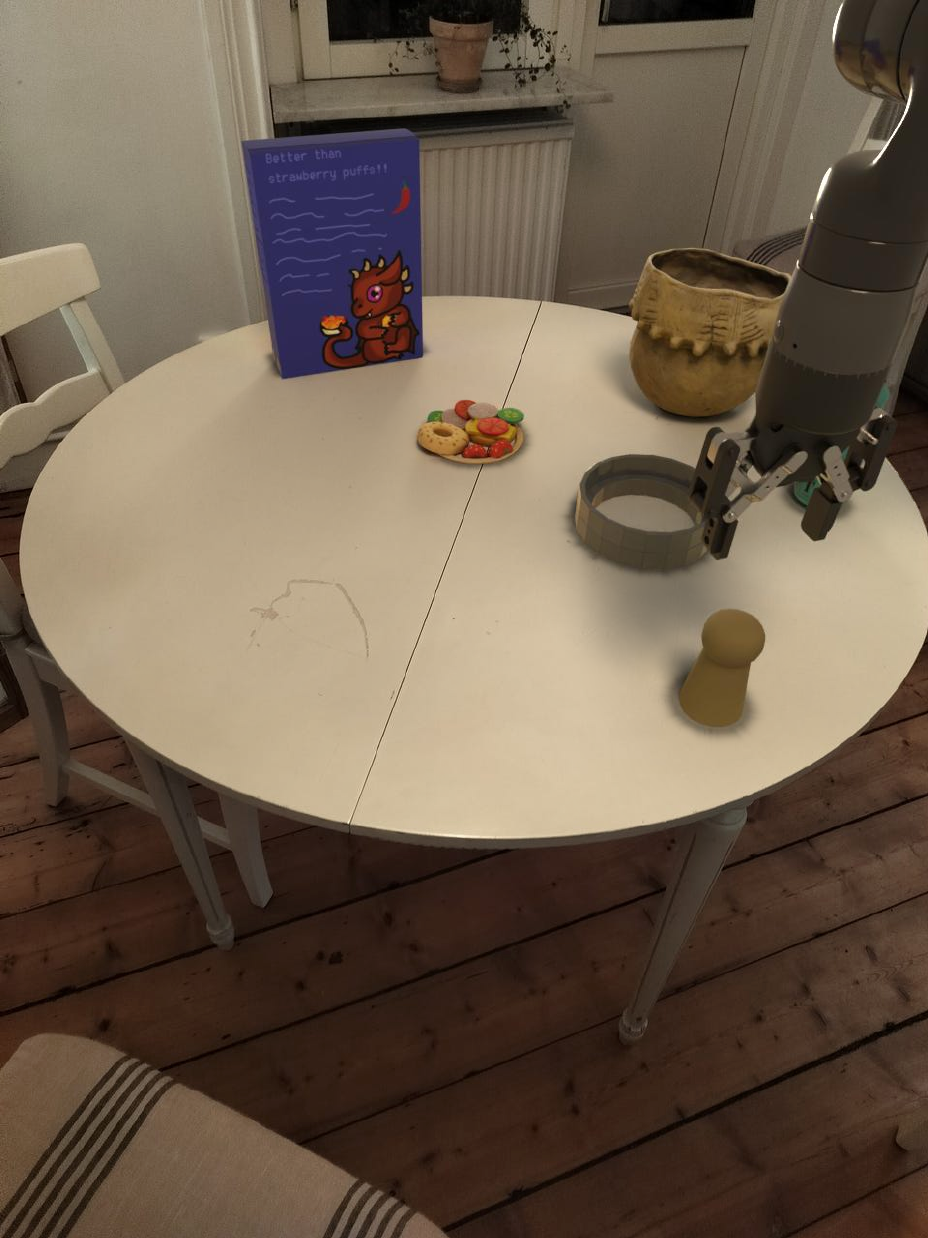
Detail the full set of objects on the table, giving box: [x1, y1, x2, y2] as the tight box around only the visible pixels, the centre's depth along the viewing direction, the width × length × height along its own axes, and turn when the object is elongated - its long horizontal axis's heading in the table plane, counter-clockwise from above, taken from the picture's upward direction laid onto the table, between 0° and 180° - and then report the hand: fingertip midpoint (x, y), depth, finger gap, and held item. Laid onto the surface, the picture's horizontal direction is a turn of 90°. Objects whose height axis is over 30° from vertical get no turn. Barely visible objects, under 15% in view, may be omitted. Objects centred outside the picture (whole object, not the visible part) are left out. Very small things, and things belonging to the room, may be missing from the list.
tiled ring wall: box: [574, 453, 708, 571], centre depth 95 cm, size 16×16×6 cm
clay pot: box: [628, 247, 792, 418], centre depth 111 cm, size 21×21×20 cm
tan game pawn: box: [678, 608, 766, 728], centre depth 73 cm, size 6×6×11 cm
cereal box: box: [240, 127, 424, 380], centre depth 116 cm, size 22×6×30 cm, turn 111°
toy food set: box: [416, 399, 525, 465], centre depth 109 cm, size 13×13×3 cm
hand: (764, 543), depth 64 cm, fingers open, 8 cm apart
